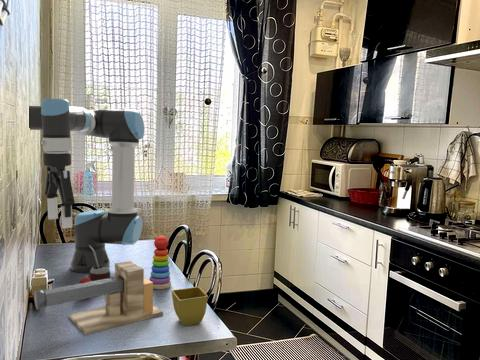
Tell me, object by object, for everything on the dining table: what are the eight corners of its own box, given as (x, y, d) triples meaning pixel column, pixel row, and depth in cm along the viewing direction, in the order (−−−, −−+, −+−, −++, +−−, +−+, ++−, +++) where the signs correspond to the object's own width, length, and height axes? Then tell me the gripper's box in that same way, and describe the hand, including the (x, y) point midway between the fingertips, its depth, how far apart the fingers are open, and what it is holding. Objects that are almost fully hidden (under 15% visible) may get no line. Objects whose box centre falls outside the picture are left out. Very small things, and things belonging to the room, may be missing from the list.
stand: (69, 317, 134) (68, 269, 133) (143, 300, 149) (143, 256, 147) (85, 334, 123) (84, 282, 122) (162, 314, 138) (163, 267, 136)
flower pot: (178, 330, 128) (179, 300, 127) (170, 318, 136) (171, 289, 135) (207, 325, 131) (208, 296, 130) (198, 314, 139) (198, 286, 138)
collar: (131, 303, 144) (131, 276, 143) (140, 301, 146) (140, 274, 145) (143, 312, 137) (143, 284, 136) (152, 310, 139) (152, 282, 138)
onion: (78, 303, 145) (77, 279, 145) (75, 297, 150) (75, 274, 150) (96, 300, 148) (96, 277, 147) (93, 294, 153) (93, 272, 152)
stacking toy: (166, 291, 158) (166, 239, 156) (145, 289, 160) (145, 238, 158) (174, 284, 166) (174, 234, 164) (154, 282, 167) (154, 233, 165)
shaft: (34, 306, 124) (33, 288, 123) (129, 286, 141) (129, 271, 140) (39, 312, 120) (38, 294, 119) (136, 291, 137) (136, 275, 136)
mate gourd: (108, 292, 156) (108, 250, 154) (85, 292, 155) (84, 250, 153) (112, 284, 163) (111, 244, 162) (89, 285, 162) (89, 245, 161)
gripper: (32, 149, 138) (35, 216, 141) (56, 156, 118) (59, 233, 121) (57, 148, 142) (59, 214, 145) (85, 155, 123) (87, 230, 126)
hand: (59, 223), depth 133 cm, fingers open, 13 cm apart
